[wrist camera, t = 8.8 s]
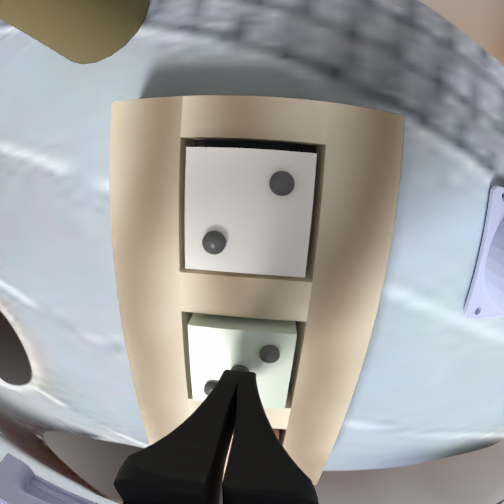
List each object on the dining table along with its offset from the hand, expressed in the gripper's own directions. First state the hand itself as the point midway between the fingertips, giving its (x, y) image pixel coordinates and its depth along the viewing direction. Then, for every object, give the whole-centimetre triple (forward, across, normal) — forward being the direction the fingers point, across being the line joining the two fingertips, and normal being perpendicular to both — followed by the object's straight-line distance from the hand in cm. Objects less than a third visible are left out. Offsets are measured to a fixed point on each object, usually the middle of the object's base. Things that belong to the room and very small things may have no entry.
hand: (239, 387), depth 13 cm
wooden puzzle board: (+4, 0, 0) cm, 4 cm away
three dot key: (+5, 0, 0) cm, 5 cm away
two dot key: (+5, 0, -8) cm, 9 cm away
